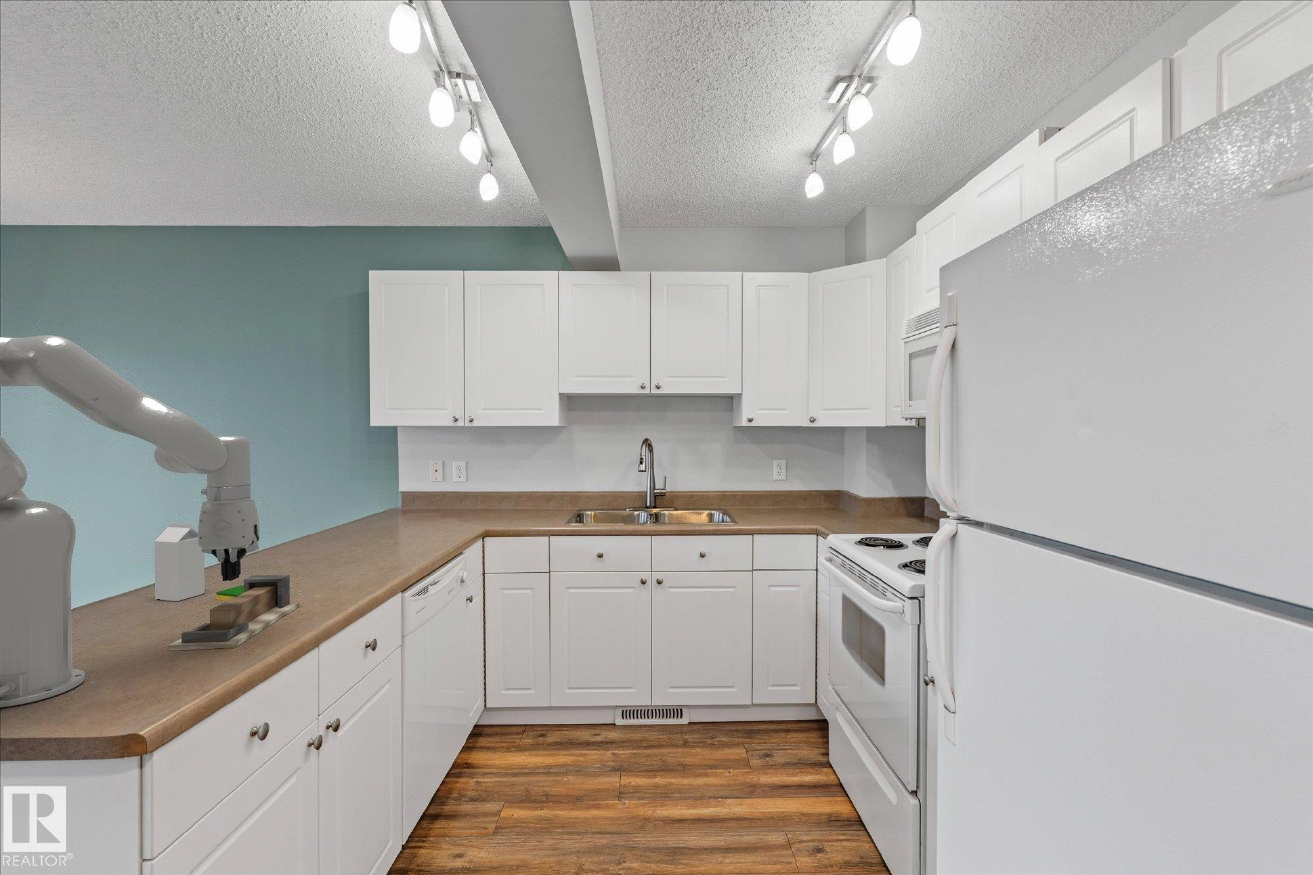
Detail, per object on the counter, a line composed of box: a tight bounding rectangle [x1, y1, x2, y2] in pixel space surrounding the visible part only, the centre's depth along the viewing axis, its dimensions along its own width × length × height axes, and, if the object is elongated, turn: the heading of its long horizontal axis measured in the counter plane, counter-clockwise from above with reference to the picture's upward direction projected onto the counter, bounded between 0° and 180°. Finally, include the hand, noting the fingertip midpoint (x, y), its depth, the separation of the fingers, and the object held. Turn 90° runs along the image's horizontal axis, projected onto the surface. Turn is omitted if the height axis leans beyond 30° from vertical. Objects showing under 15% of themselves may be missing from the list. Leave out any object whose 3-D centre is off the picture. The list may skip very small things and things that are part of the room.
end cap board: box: [167, 574, 301, 652], centre depth 129 cm, size 27×12×8 cm, turn 7°
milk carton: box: [154, 522, 206, 602], centre depth 150 cm, size 7×7×19 cm
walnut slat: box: [209, 586, 276, 631], centre depth 130 cm, size 18×4×5 cm, turn 7°
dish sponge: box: [215, 584, 244, 602], centre depth 149 cm, size 7×14×2 cm, turn 73°
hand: (231, 579), depth 125 cm, fingers closed
